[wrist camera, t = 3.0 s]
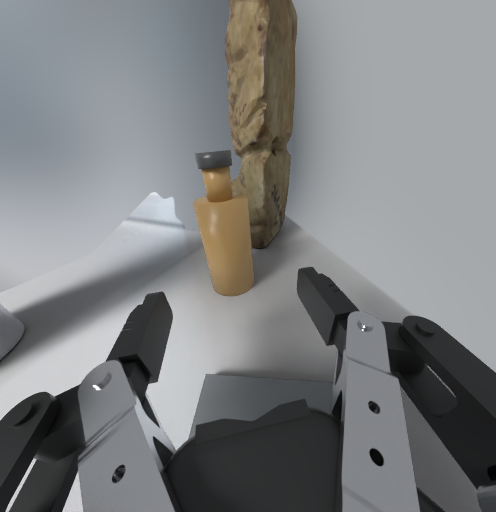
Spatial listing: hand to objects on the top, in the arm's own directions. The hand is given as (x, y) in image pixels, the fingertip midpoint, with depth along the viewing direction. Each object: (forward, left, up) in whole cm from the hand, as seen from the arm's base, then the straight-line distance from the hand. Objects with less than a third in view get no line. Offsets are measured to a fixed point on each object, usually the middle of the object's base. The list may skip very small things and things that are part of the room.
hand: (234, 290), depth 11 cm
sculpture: (0, +24, -8) cm, 26 cm away
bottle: (-3, +10, -8) cm, 13 cm away
